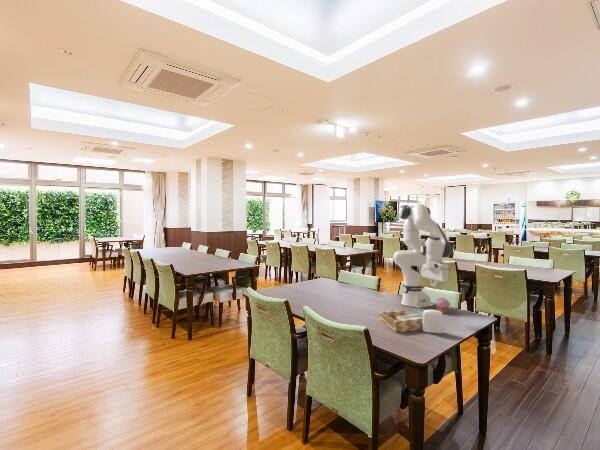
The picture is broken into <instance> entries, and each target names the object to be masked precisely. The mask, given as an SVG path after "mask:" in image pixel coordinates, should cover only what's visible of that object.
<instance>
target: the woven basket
mask: <svg viewBox="0 0 600 450" xmlns="http://www.w3.org/2000/svg"><path fill="white" fill-rule="evenodd" d="M398 315H407V310H406V309H402V310H388V311H379V312H378V321H377V322H378V323H379V324H381V325H382V326H384V327H386V328H387V329H389V330H390V331H392V332H394V333H404V332H414V331H423V318H418V319H407V320H397V321H396V320H395V316H398Z"/></svg>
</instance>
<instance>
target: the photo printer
mask: <svg viewBox="0 0 600 450" xmlns="http://www.w3.org/2000/svg"><path fill="white" fill-rule="evenodd" d="M422 312H423V330H422V332H423V333H430V334H432V333H433V334H441V335H442V334H443V324H444V323H443V321H444V320H443V319H444V316H443V313H442V312H440V311H438V310H437V309H426V310H425V309H424V310H423V311H422Z"/></svg>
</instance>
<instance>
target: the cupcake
mask: <svg viewBox="0 0 600 450" xmlns="http://www.w3.org/2000/svg"><path fill="white" fill-rule="evenodd" d="M434 302H435V303H434V305H436V310H438V311H440V312H442V314H447V313H448V310H449V307H451V303H450V300H448V299H446V298H444V297H439V298H437V299H436V300H435V301H434Z"/></svg>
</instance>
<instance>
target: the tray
mask: <svg viewBox="0 0 600 450" xmlns="http://www.w3.org/2000/svg"><path fill="white" fill-rule="evenodd" d="M423 312H424V311H421V310H419V309H418V310H416V313H412V314H406V315H398V316H395V320H396V321H397V320H407V319H418V318H423Z"/></svg>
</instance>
